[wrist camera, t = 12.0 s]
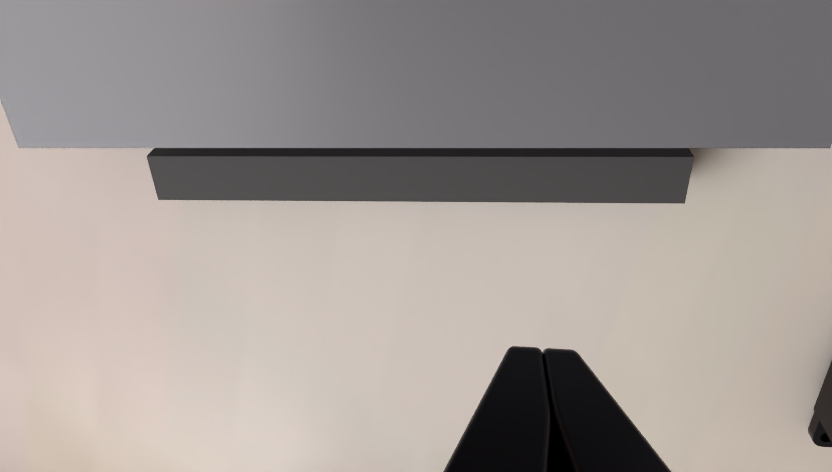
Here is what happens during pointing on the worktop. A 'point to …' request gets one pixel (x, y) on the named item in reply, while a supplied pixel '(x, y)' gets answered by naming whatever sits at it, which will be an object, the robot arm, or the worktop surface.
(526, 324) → the worktop surface
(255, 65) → the panel
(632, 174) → the grey slab
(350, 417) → the worktop surface
